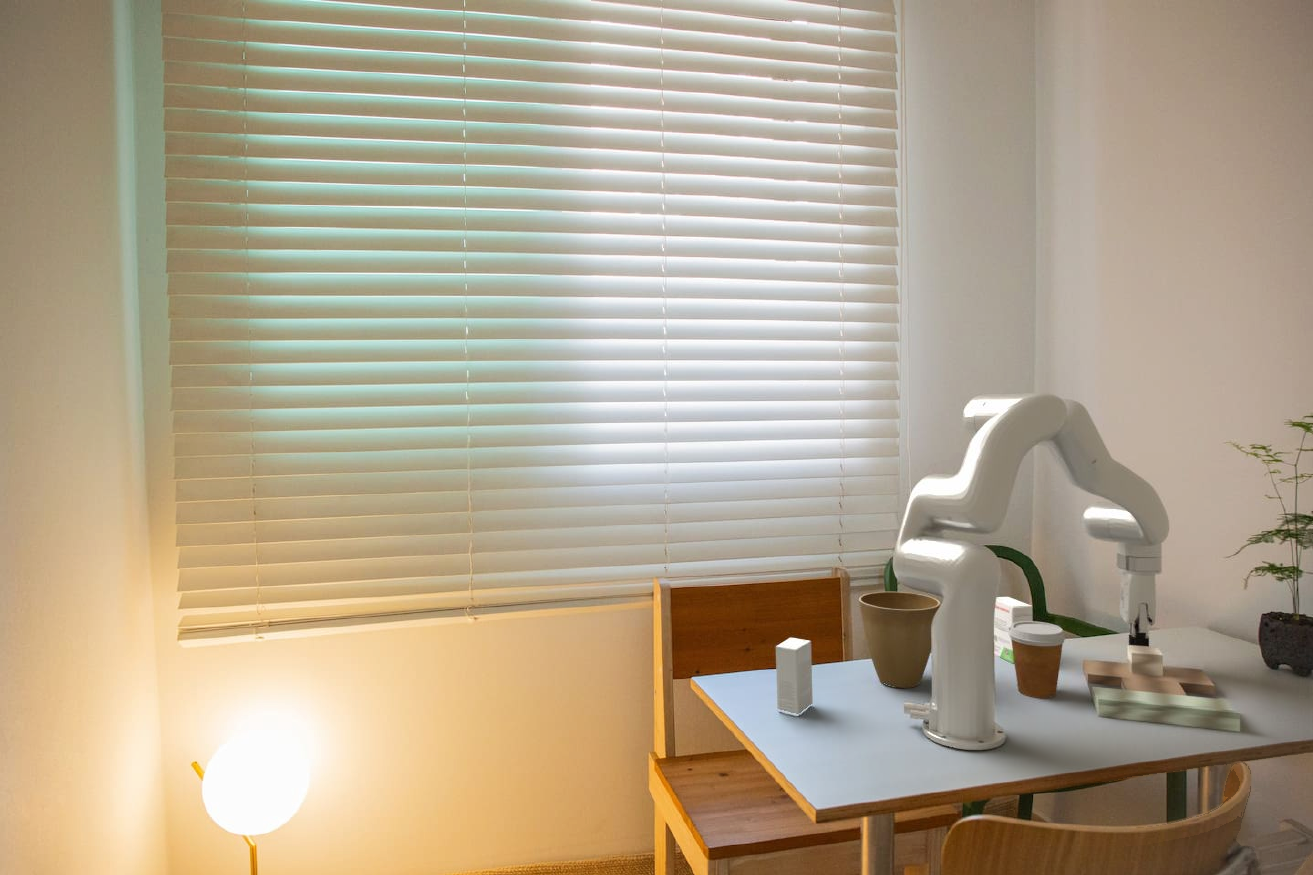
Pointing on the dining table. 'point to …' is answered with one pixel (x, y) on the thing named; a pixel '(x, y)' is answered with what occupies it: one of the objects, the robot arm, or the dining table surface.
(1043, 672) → the disposable coffee cup
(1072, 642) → the dining table surface
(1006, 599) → the ink box
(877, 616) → the plant pot
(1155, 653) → the block
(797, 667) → the skincare box
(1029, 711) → the dining table surface
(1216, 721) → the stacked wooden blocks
